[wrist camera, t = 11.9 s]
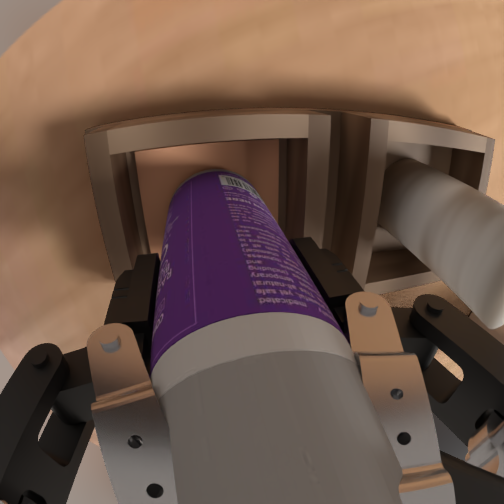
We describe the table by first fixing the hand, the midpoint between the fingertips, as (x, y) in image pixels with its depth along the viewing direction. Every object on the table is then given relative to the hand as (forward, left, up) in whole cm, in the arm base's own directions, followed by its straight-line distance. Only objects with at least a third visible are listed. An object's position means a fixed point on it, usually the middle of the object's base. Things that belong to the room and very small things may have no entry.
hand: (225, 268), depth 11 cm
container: (0, 0, -5) cm, 5 cm away
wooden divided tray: (-6, 0, -7) cm, 9 cm away
